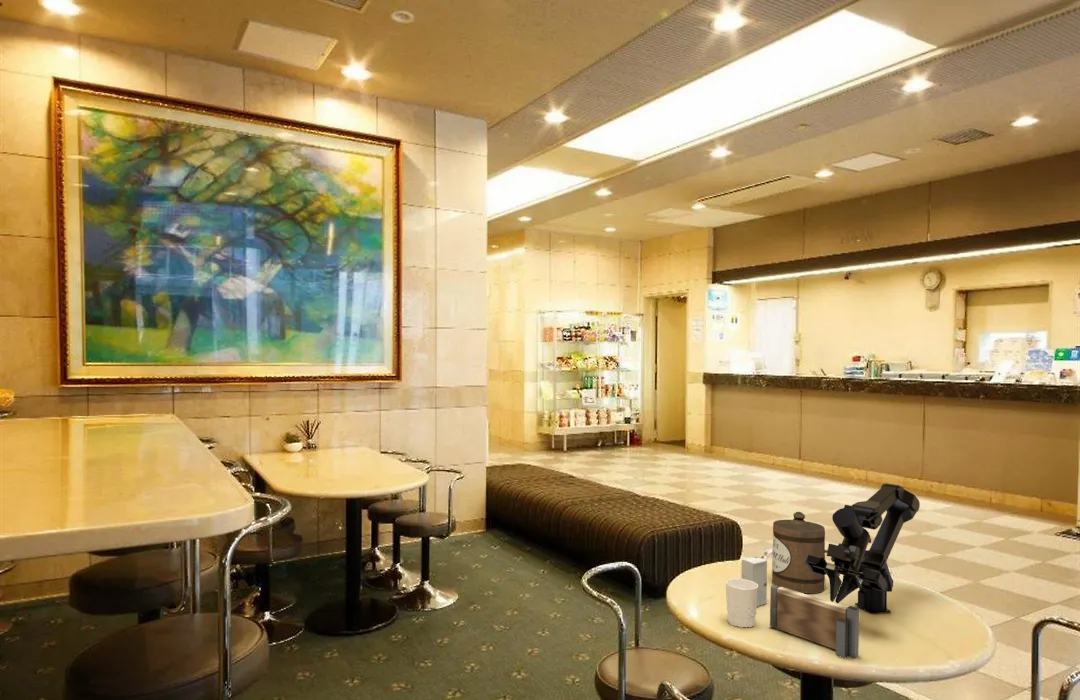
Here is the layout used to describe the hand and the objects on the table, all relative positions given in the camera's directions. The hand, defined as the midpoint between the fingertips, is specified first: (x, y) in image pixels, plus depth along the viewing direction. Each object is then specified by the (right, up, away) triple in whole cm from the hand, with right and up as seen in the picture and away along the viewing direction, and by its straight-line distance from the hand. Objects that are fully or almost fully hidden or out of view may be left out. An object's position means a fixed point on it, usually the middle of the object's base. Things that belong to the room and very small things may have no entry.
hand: (834, 601), depth 166 cm
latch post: (-3, -7, -14) cm, 16 cm away
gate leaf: (-9, -6, -6) cm, 13 cm away
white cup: (-22, -7, +3) cm, 24 cm away
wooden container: (+4, -8, +33) cm, 34 cm away
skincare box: (-15, -7, +17) cm, 24 cm away
